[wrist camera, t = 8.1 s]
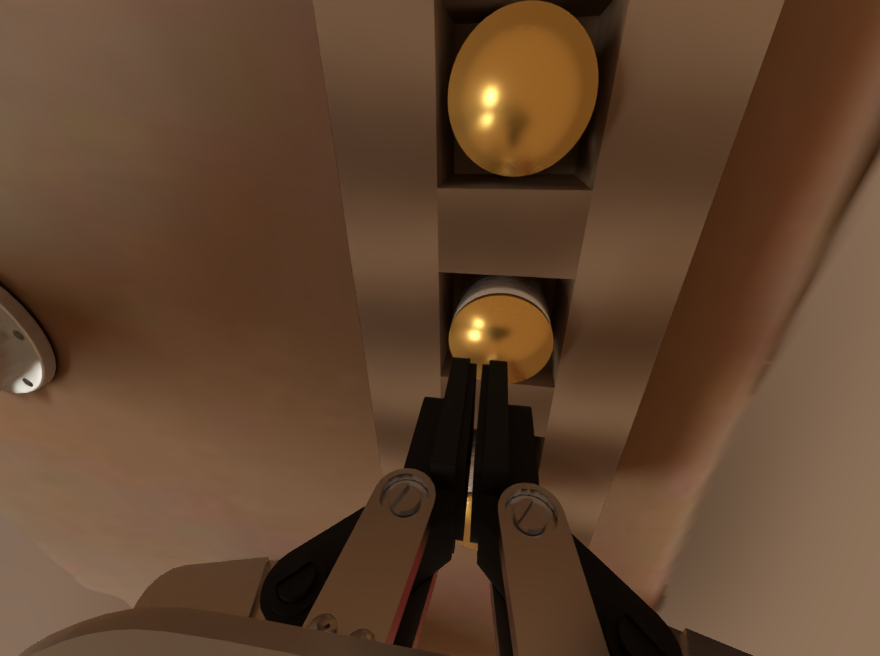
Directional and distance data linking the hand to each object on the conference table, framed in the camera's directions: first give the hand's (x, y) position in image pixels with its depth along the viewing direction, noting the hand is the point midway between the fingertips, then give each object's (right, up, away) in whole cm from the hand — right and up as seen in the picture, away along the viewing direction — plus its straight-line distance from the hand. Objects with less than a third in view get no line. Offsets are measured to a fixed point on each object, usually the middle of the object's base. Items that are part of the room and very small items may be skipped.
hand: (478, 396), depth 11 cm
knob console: (+2, +4, +7) cm, 9 cm away
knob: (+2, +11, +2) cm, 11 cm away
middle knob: (+2, +4, +6) cm, 8 cm away
